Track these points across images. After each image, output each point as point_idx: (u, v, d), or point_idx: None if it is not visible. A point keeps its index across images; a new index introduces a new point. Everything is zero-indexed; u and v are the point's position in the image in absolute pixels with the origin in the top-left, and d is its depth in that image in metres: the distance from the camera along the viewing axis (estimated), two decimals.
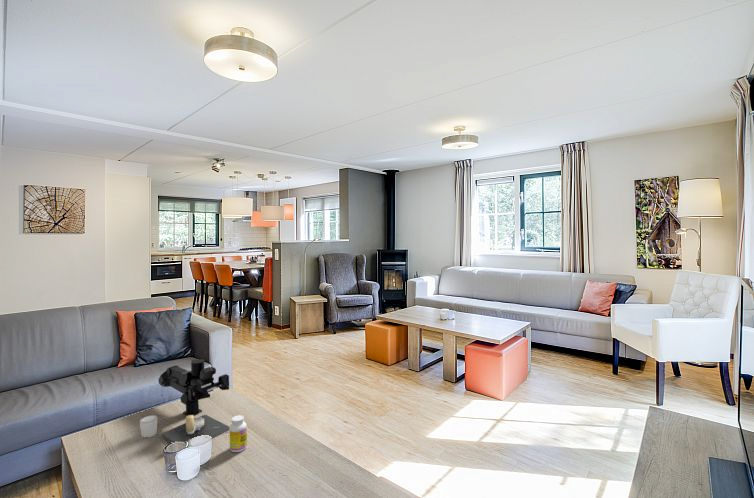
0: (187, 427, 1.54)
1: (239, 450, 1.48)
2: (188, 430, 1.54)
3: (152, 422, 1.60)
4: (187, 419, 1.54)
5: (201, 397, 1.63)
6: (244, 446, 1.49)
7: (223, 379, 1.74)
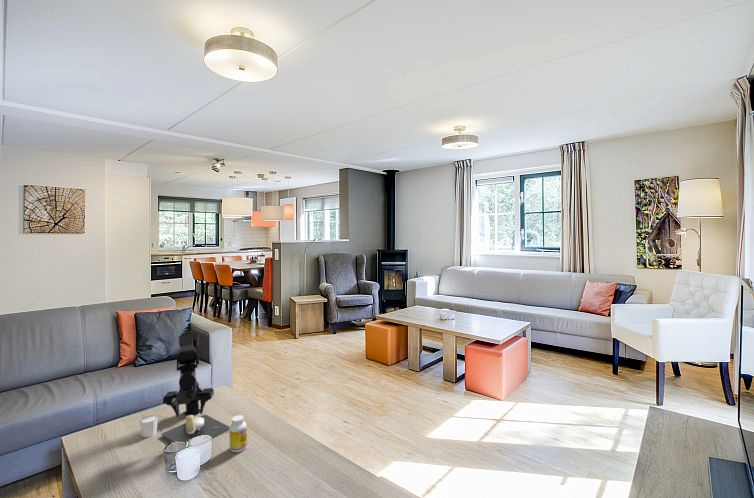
0: (187, 427, 1.54)
1: (239, 450, 1.48)
2: (188, 430, 1.54)
3: (152, 422, 1.60)
4: (187, 419, 1.54)
5: None
6: (244, 446, 1.49)
7: (201, 402, 1.54)
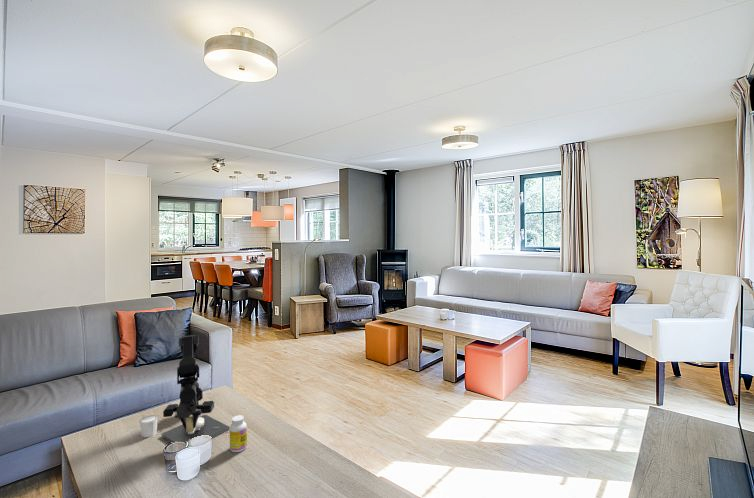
0: (187, 427, 1.54)
1: (239, 450, 1.48)
2: (188, 430, 1.54)
3: (152, 422, 1.60)
4: (187, 419, 1.54)
5: None
6: (244, 446, 1.49)
7: (194, 416, 1.53)
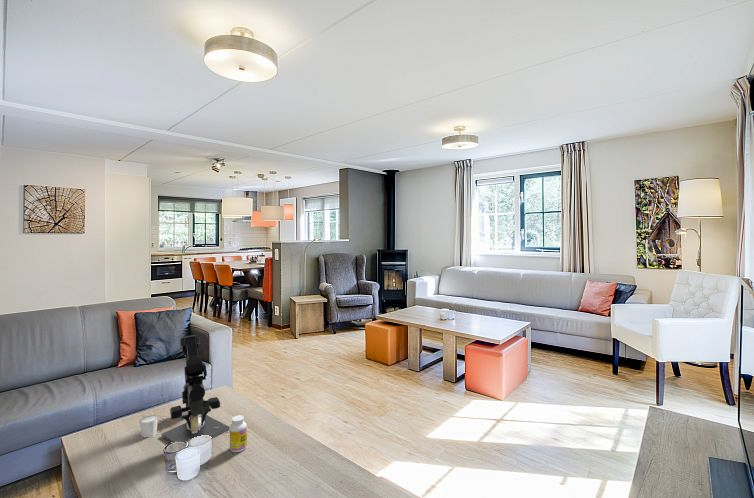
0: (192, 426, 1.54)
1: (239, 450, 1.48)
2: (193, 429, 1.54)
3: (152, 422, 1.60)
4: (192, 418, 1.54)
5: None
6: (244, 446, 1.49)
7: (205, 413, 1.56)
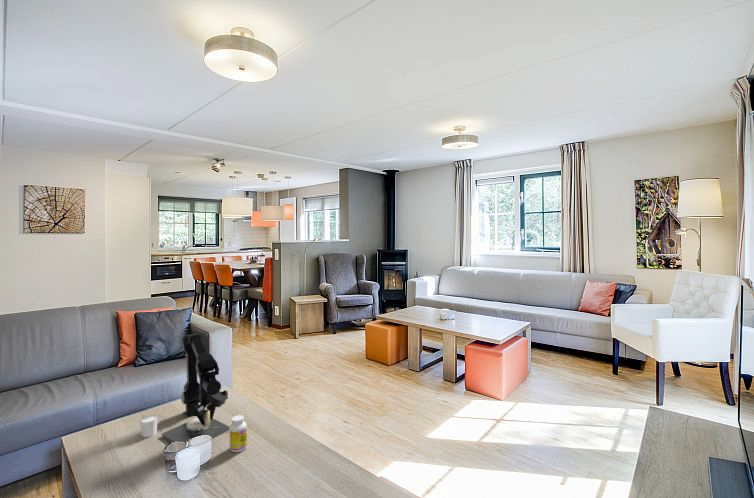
0: (206, 421, 1.58)
1: (239, 450, 1.48)
2: (208, 424, 1.58)
3: (152, 422, 1.60)
4: (207, 413, 1.58)
5: (198, 416, 1.56)
6: (244, 446, 1.49)
7: None
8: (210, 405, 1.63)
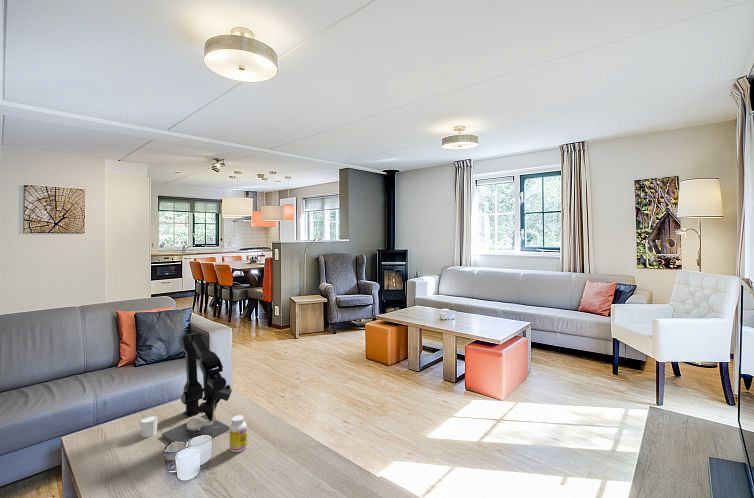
0: (214, 416, 1.62)
1: (239, 450, 1.48)
2: (215, 418, 1.63)
3: (152, 422, 1.60)
4: None
5: (206, 412, 1.60)
6: (244, 446, 1.49)
7: (218, 401, 1.66)
8: None
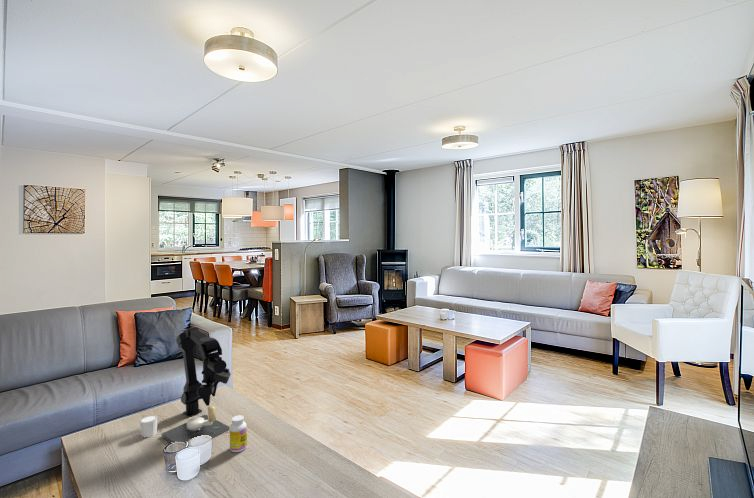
0: (214, 416, 1.63)
1: (239, 450, 1.48)
2: (215, 418, 1.63)
3: (152, 422, 1.60)
4: (214, 408, 1.63)
5: (203, 397, 1.60)
6: (244, 446, 1.49)
7: None
8: None
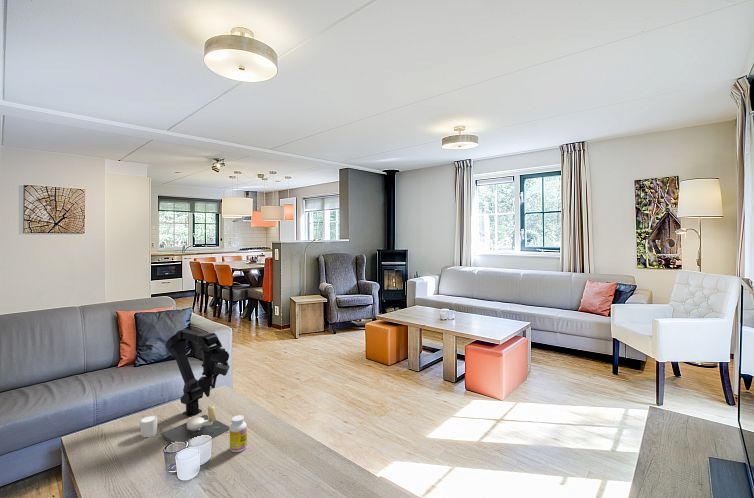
0: (214, 416, 1.63)
1: (239, 450, 1.48)
2: (215, 418, 1.63)
3: (152, 422, 1.60)
4: (214, 408, 1.63)
5: (203, 388, 1.68)
6: (244, 446, 1.49)
7: (218, 374, 1.80)
8: (212, 375, 1.79)
